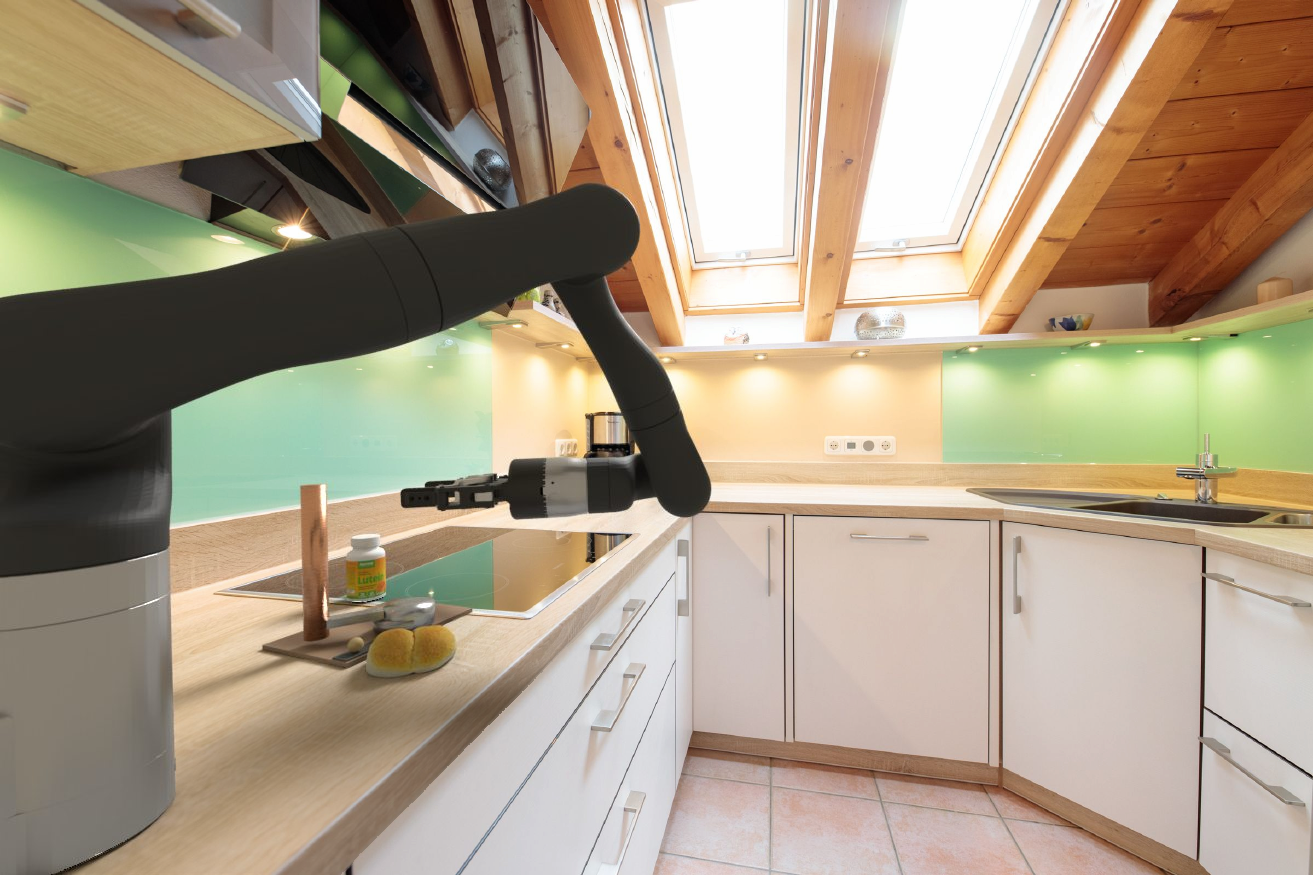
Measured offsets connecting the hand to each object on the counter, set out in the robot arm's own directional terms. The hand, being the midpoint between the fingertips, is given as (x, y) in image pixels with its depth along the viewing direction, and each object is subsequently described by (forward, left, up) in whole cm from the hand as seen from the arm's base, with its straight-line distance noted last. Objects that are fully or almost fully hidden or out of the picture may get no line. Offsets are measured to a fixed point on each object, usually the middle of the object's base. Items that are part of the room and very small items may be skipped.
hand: (414, 493), depth 63 cm
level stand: (+1, +9, -18) cm, 20 cm away
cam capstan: (-1, +6, -17) cm, 18 cm away
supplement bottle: (+10, +22, -18) cm, 30 cm away
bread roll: (-4, -4, -18) cm, 19 cm away
